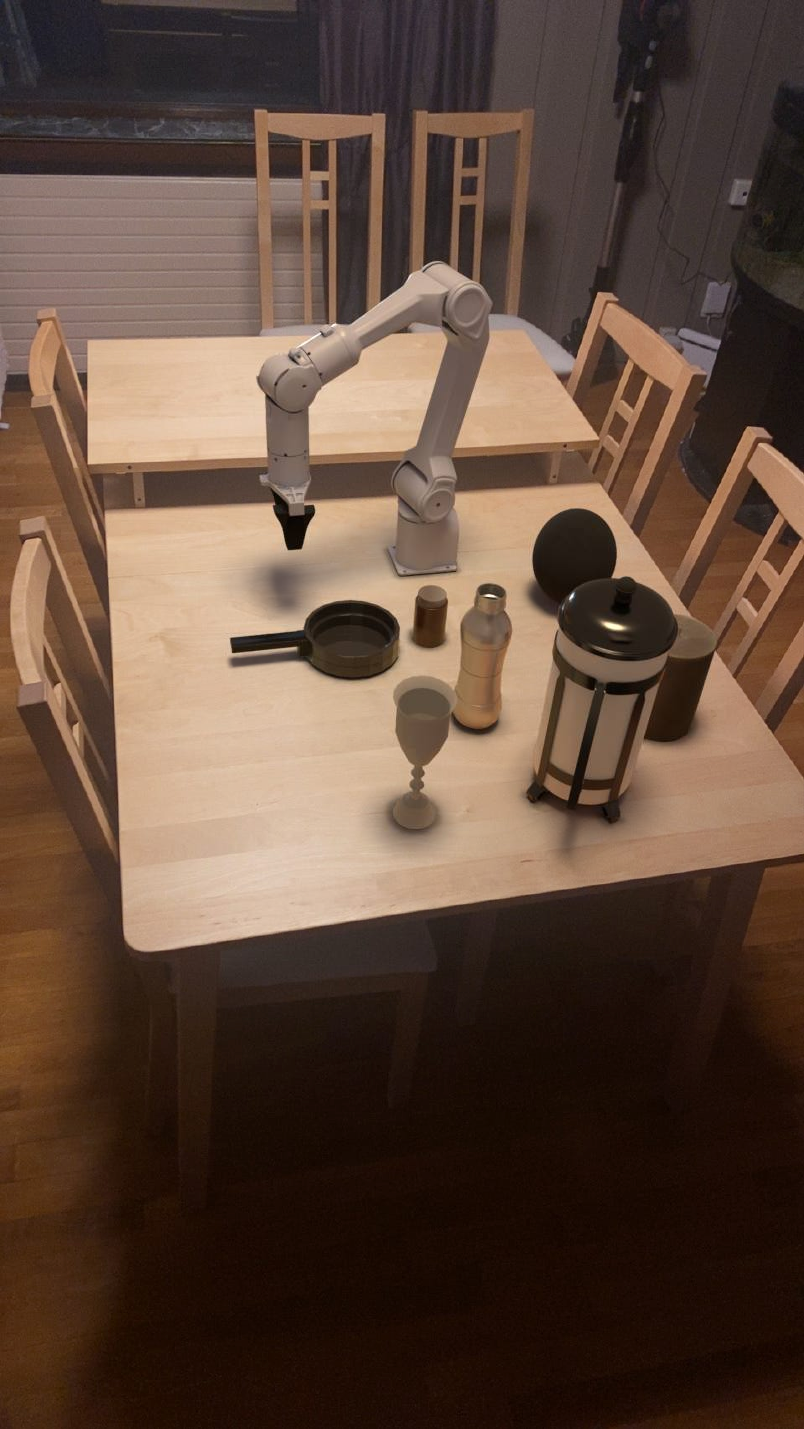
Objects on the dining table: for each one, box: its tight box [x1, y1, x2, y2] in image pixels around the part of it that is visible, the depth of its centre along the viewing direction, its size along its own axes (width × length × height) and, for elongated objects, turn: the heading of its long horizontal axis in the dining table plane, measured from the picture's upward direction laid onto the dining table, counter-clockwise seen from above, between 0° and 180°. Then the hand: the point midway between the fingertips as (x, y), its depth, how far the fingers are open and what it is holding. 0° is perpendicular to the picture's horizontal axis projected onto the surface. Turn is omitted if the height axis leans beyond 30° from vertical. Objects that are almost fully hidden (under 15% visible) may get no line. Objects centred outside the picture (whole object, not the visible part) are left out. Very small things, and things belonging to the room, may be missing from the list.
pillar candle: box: [644, 613, 718, 742], centre depth 129 cm, size 10×10×15 cm
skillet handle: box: [229, 629, 307, 658], centre depth 137 cm, size 10×3×3 cm, turn 104°
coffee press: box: [525, 575, 678, 822], centre depth 113 cm, size 17×16×30 cm
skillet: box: [303, 599, 401, 678], centre depth 140 cm, size 13×13×4 cm
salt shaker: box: [411, 584, 449, 649], centre depth 141 cm, size 5×5×8 cm
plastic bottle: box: [452, 582, 513, 730], centre depth 125 cm, size 6×7×20 cm
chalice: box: [392, 675, 457, 830], centre depth 112 cm, size 7×7×18 cm
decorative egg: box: [531, 507, 618, 605], centre depth 148 cm, size 12×12×15 cm
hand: (290, 534), depth 144 cm, fingers open, 7 cm apart
